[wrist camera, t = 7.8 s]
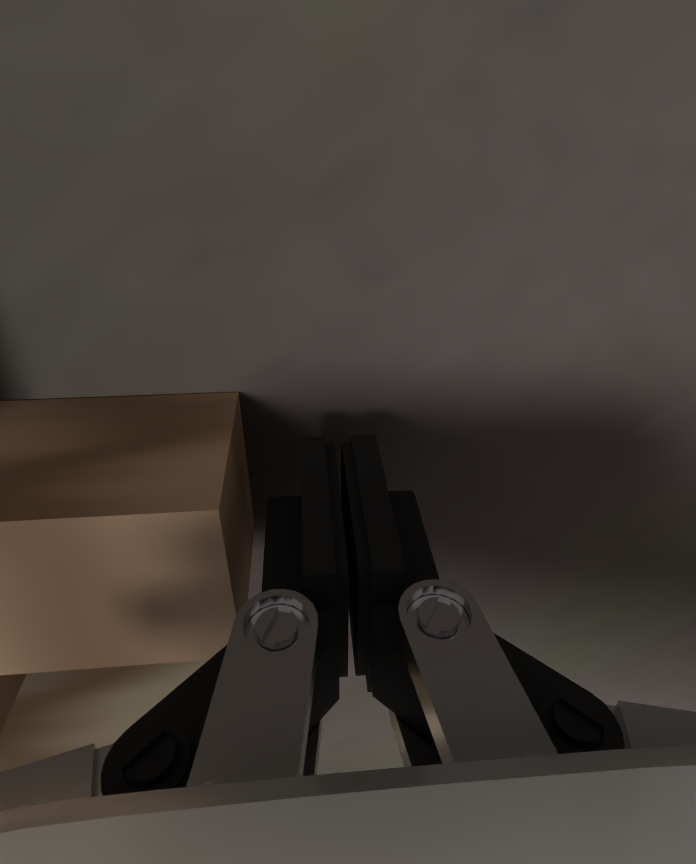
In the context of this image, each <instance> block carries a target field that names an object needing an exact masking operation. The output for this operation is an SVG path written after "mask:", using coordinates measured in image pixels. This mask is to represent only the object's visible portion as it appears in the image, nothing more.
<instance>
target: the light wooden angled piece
mask: <svg viewBox="0 0 696 864" xmlns="http://www.w3.org/2000/svg"><path fill="white" fill-rule="evenodd" d="M207 661H208V660H198V661H185V662H172V663H158V664H145V665H132V666H118V667H105V668H92V669H78V670H65V671H52V672H38V673H27V674H26V677H25V679H24V681H23V683H22V686H21V688H20V690H19V692H18V695H17V697H16V699H15V701H14V704H13V706H12V708H11V710H10V713H9V715H8V717H7V719H6V721H5V724H4V726H3V728H2V730H1V733H0V772H2V771H5V770H8V769H11V768H15V767H18V766H21V765H24V764H28V763H31V762H34V761H37V760H41V759H44V758H47V757H50V756H54V755H57V754H60V753H64V752H67V751H70V750H73V749H77V748H80V747H83V746H86V745H90V744H93V743H94V745H95V747H96V749H97V748H101V747H104V746H107V745H110V744H113V743H114V742H115V741H116V740H117V739H118V738H119V737H120V736H121V735H122V734H123V733H124V732H125V731H126V730H127V729H128V728H129V727H130V726H132V725H133V724H134V723H135V722H136V721H137V720H139V719H140V718H141V717H142V716H143V715H144V714H146V713H147V712H148V711H149V710H150V709H152V708H153V707H154V706H155V705H156V704H157V703H159V702H160V701H161V700H162V699H163V698H165V697H166V696H167V695H168V694H169V693H170V692H172V691H173V690H174V689H175V688H176V687H177V686H179V685H180V684H181V683H182V682H183V681H185V680H186V679H187V678H188V677H189V676H190V675H192V674H193V673H194V672H195V671H196V670H198V669H199V668H200V667H201V666H202V665H203V664H205V663H206V662H207Z"/></svg>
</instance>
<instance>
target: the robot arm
mask: <svg viewBox="0 0 696 864" xmlns="http://www.w3.org/2000/svg"><path fill="white" fill-rule="evenodd" d="M301 490H302V496H285V497H268V502H267V516H266V532H265V548H264V564H263V580H262V593H259V594H257V595H255V596H254V597H252V598H251V599H249V600H248V601H247V602H246V603H245V604H244V605H243V606H242V607H241V608H240V609H239V611H238V614H237V616H236V618H235V620H234V623H233V627H232V630H231V634H230V637H229V641H228V644H227V645H226V646H225V647H223V648H222V649H221V650H220V651H219V652H218V653H216V654H215V655H214V656H213V657H212V658H210V659H209V660H208V661H207V662H206V663H205V664H203V665H202V666H201V667H200V668H199V669H198V670H196V671H195V672H194V673H193V674H192V675H190V676H189V677H188V678H187V679H186V680H185V681H183V682H182V683H181V684H180V685H179V686H177V687H176V688H175V689H174V690H173V691H172V692H170V693H169V694H168V695H167V696H166V697H165V698H163V699H162V700H161V701H160V702H159V703H157V704H156V705H155V706H154V707H153V708H152V709H150V710H149V711H148V712H147V713H146V714H144V715H143V716H142V717H141V718H140V719H139V720H137V721H136V722H135V723H134V724H133V725H132V726H130V727H129V728H128V729H127V730H126V731H125V732H124V733H123V734H122V735H121V736H120V737H119V738H118V739H117V740H116V741H115V742H114V743H113V744H110V745H107V746H104V747H101V748H97V749H96V747H95V745H94V743H93V744H90V745H86V746H83V747H80V748H77V749H73V750H70V751H67V752H64V753H60V754H57V755H54V756H50V757H47V758H44V759H41V760H37V761H34V762H31V763H28V764H24V765H21V766H18V767H15V768H11V769H8V770H5V771H2V772H0V864H696V712H692V711H686V710H679V709H672V708H665V707H659V706H652V705H645V704H639V703H632V702H625V701H618V703H617V705H616V706H612V705H605V703H603V702H602V701H601V700H600V699H598V698H597V697H596V696H594V695H593V694H592V693H590V692H589V691H587V690H585V689H584V688H582V687H581V686H579V685H577V684H576V683H574V682H572V681H571V680H569V679H568V678H566V677H564V676H563V675H561V674H559V673H558V672H556V671H555V670H553V669H551V668H550V667H548V666H546V665H545V664H543V663H542V662H540V661H538V660H537V659H535V658H533V657H532V656H530V655H529V654H527V653H525V652H524V651H522V650H520V649H519V648H517V647H516V646H514V645H512V644H511V643H509V642H507V641H506V640H504V639H502V638H501V637H499V636H498V635H496V634H494V633H493V632H492V630H491V628H490V626H489V624H488V622H487V620H486V619H485V617H484V615H483V613H482V611H481V609H480V607H479V606H478V604H477V602H476V601H475V600H474V598H473V597H472V596H471V594H470V593H468V592H467V591H466V590H464V589H463V588H462V587H460V586H458V585H456V584H454V583H451V582H449V581H444V580H439V577H438V573H437V570H436V566H435V563H434V560H433V556H432V553H431V549H430V546H429V542H428V539H427V536H426V532H425V529H424V525H423V522H422V518H421V515H420V512H419V508H418V505H417V501H416V498H415V495H414V493H413V491H412V490H407V491H388V489H387V484H386V480H385V476H384V471H383V467H382V463H381V458H380V454H379V450H378V445H377V441H376V437H375V435H357V436H351V437H350V442H342V443H341V498H340V489H339V480H338V471H337V462H336V453H335V444H334V443H325V437H308V438H301ZM348 607H349V617H350V627H351V636H352V646H353V655H354V665H355V673H356V676H360V675H366V682H367V690H368V692H372V694H373V697H375V698H376V699H377V700H378V701H380V702H381V703H382V704H383V705H385V706H386V707H387V708H389V713H390V720H391V724H392V727H393V730H394V734H395V737H396V740H397V743H398V747H399V750H400V753H401V757H402V760H403V763H404V766H405V767H401V768H390V769H379V770H367V771H356V772H345V773H334V774H323V775H317V768H318V759H319V749H320V740H321V730H322V718H323V716H324V715H325V714H326V713H327V712H328V711H329V710H330V709H331V707H332V706H333V705H334V704H335V703H336V702H337V701H338V700H339V677H347V676H348Z"/></svg>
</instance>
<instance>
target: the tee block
mask: <svg viewBox="0 0 696 864" xmlns="http://www.w3.org/2000/svg"><path fill="white" fill-rule="evenodd" d="M253 531H254V517H253V509H252V501H251V492H250V484H249V476H248V467H247V459H246V451H245V443H244V434H243V426H242V418H241V409H240V401H239V393H238V392H230V393H203V394H176V395H148V396H121V397H94V398H66V399H39V400H12V401H0V733H1V730H2V728H3V726H4V724H5V721H6V719H7V717H8V715H9V713H10V710H11V708H12V706H13V704H14V701H15V699H16V697H17V695H18V692H19V690H20V688H21V686H22V683H23V681H24V679H25V677H26V674H27V673H38V672H52V671H65V670H78V669H92V668H105V667H118V666H132V665H145V664H158V663H172V662H185V661H198V660H209V659H210V658H212V657H213V656H214V655H215V654H216V653H218V652H219V651H220V650H221V649H222V648H223V647H225V646H226V645H227V644H228V641H229V637H230V634H231V630H232V627H233V623H234V620H235V618H236V616H237V614H238V611H239V609H240V608H241V607H242V606H243V605H244V604H245V603H246V602H247V601H248V592H249V580H250V568H251V556H252V543H253Z"/></svg>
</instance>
